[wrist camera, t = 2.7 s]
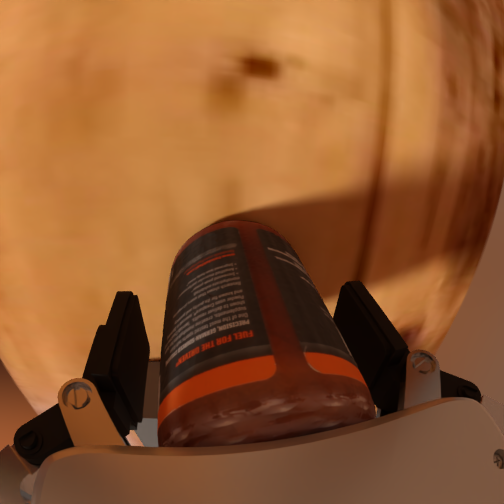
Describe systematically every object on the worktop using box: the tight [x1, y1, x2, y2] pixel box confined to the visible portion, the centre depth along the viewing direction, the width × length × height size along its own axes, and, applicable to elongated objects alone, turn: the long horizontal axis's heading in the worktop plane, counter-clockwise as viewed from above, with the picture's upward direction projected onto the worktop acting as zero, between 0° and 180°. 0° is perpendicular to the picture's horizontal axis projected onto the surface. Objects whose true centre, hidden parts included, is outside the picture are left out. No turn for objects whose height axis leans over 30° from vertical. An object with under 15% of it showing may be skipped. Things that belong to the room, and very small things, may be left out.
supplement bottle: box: [157, 220, 376, 447], centre depth 9 cm, size 6×6×11 cm
